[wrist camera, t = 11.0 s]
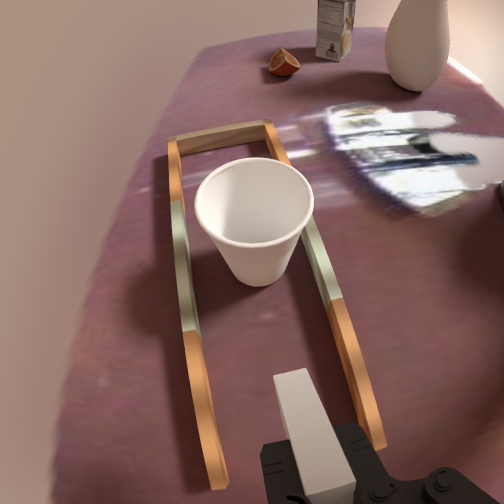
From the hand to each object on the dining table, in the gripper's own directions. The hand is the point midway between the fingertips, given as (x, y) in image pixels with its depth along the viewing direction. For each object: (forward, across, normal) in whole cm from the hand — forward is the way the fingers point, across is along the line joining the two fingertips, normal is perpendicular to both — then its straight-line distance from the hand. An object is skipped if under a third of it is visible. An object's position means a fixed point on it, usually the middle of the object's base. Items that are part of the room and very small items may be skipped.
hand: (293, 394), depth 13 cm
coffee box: (+60, +31, +36) cm, 77 cm away
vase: (+49, +43, +25) cm, 69 cm away
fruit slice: (+53, +16, +30) cm, 63 cm away
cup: (+23, +1, 0) cm, 23 cm away
